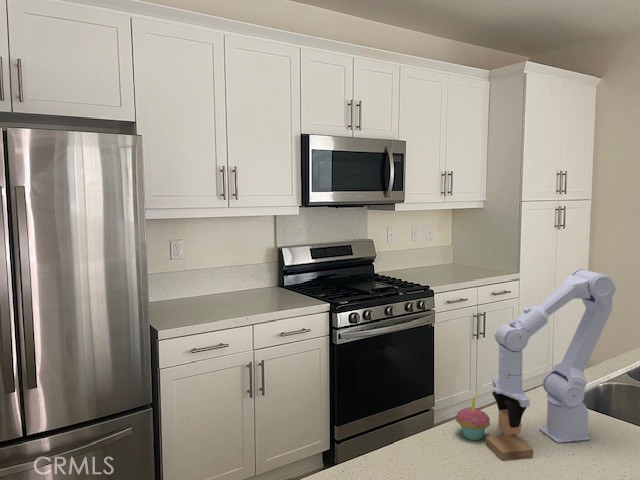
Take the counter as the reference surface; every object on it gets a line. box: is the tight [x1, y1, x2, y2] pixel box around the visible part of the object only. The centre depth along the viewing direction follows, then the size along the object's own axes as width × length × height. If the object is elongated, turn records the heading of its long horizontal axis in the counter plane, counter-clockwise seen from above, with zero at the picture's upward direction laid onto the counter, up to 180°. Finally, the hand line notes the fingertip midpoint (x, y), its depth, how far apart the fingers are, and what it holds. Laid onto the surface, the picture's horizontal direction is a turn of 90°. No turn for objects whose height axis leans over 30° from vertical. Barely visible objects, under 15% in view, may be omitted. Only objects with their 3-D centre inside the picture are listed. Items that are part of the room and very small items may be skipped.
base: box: [485, 434, 534, 461], centre depth 126 cm, size 8×8×2 cm
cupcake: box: [455, 394, 491, 441], centre depth 134 cm, size 9×8×12 cm
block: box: [497, 409, 522, 436], centre depth 133 cm, size 4×4×5 cm
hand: (509, 422), depth 133 cm, fingers closed on block, 4 cm apart
